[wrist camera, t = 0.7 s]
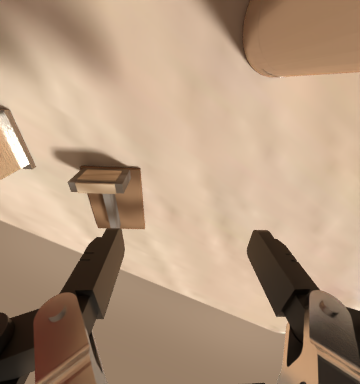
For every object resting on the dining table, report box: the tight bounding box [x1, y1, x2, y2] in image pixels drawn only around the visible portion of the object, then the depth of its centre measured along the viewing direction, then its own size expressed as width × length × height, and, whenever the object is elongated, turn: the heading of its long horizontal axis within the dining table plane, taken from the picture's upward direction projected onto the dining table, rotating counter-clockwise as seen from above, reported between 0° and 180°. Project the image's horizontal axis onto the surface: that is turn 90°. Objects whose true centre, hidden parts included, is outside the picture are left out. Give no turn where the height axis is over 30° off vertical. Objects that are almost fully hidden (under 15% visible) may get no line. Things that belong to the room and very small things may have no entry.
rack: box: [68, 166, 145, 229], centre depth 27 cm, size 13×9×5 cm
